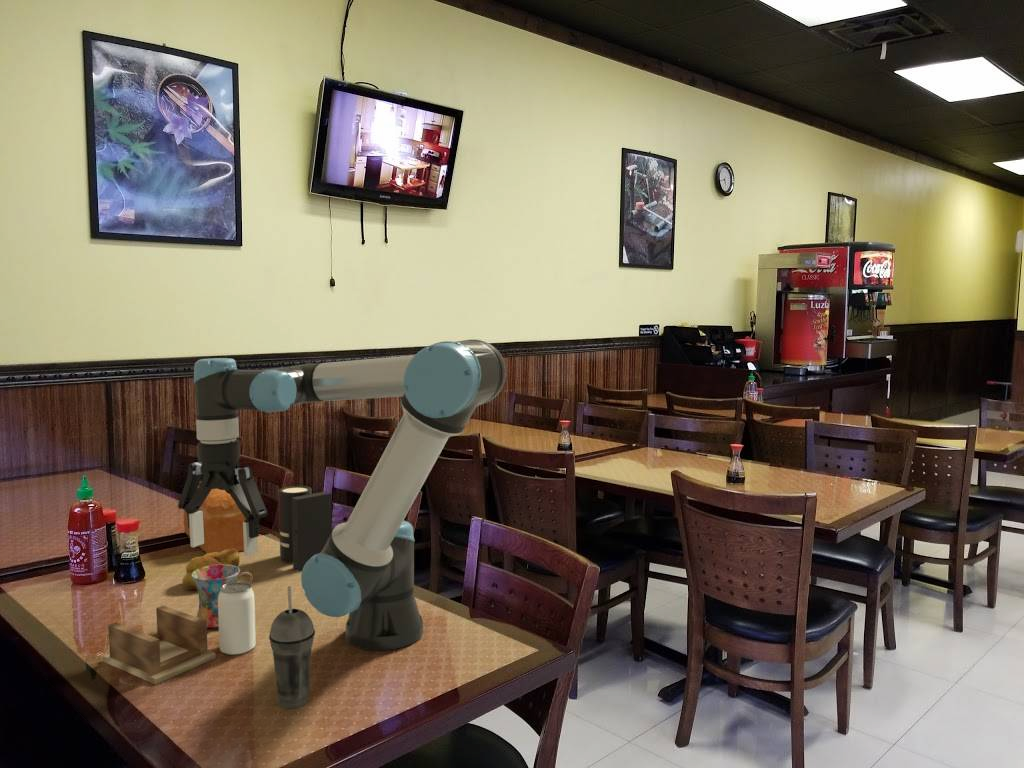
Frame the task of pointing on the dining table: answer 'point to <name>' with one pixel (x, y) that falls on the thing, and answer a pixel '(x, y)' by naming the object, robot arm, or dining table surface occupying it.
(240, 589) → the can
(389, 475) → the robot arm
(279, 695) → the beverage cup
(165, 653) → the caddy
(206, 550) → the bread
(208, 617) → the mug
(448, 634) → the dining table surface
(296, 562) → the light fixture
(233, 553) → the ginger root
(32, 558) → the dining table surface
